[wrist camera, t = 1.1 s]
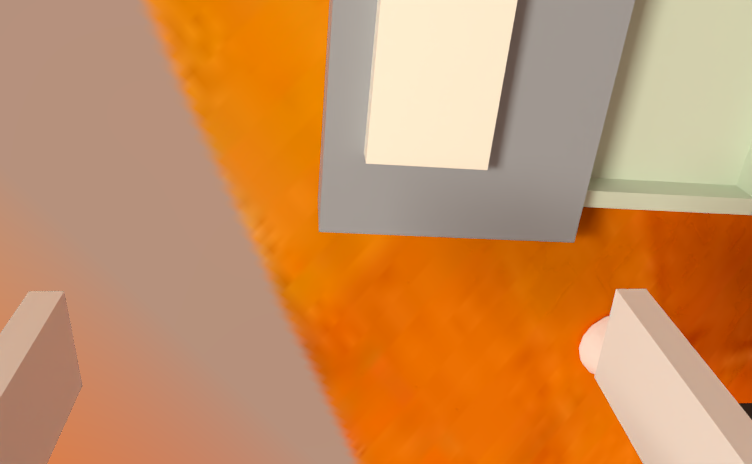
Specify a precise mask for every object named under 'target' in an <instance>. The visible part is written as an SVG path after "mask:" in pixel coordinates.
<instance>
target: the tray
mask: <svg viewBox="0 0 752 464" xmlns="http://www.w3.org/2000/svg"><path fill="white" fill-rule="evenodd" d="M583 207H595V208H615V209H636V210H656V211H677V212H697V213H718V214H739V215H752V0H635V3H634V7H633V11H632V15H631V19H630V23H629V27H628V31H627V35H626V39H625V43H624V47H623V50H622V54H621V58H620V62H619V66H618V70H617V74H616V78H615V82H614V86H613V90H612V94H611V98H610V102H609V106H608V110H607V114H606V118H605V122H604V126H603V130H602V134H601V138H600V142H599V146H598V150H597V154H596V158H595V162H594V166H593V170H592V173H591V177H590V181H589V185H588V189H587V193H586V197H585V201H584V205H583Z"/></svg>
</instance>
